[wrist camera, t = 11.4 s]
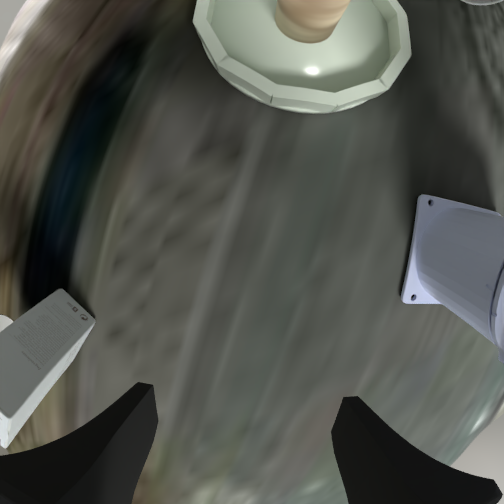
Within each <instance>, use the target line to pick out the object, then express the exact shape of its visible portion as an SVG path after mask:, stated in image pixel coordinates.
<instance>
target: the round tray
mask: <svg viewBox="0 0 504 504" xmlns="http://www.w3.org/2000/svg"><path fill="white" fill-rule="evenodd" d="M276 6H277V0H197V3H196V8H195V13H194V17H193V24H194V26H195V29H196V31H197V34H198V36H199V38H200V40H201V41H202V45H203V47H204V50H205V52H206V54H207V56H208V59H209V60H210V62H211V63H212V65H213V66H214V68H215V69H216V70H217V72H218V73H219V74H220V75H221V76H222V77H223V78H224V79H225V80H226V81H227V82H228V83H229V84H231V85H232V86H233V87H234V88H236V89H237V90H239V91H240V92H242V93H243V94H245V95H246V96H248V97H250V98H252V99H254V100H256V101H258V102H260V103H263V104H265V105H268V106H270V107H274V108H277V109H281V110H284V111H290V112H295V113H304V114H328V113H334V112H340V111H344V110H348V109H351V108H353V107H356V106H358V105H360V104H363V103H364V102H366V101H367V100H369V99H372V98H375V97H377V96H379V95H381V94H382V93H384V92H385V91H387V90H388V89H389V88H390V87H391V85H392V84H393V82H394V81H395V79H396V78H397V76H398V75H399V73H400V72H401V70H402V69H403V67H404V66H405V64H406V63H407V61H408V60H409V58H410V57H411V55H412V54H411V44H410V35H409V27H408V20H407V15H406V13H405V11H404V10H403V8H402V7H401V6H400V4H399V3H398V1H397V0H351V1H350V3H349V5H348V6H347V8H346V10H345V12H344V13H343V15H342V17H341V19H340V20H339V22H338V24H337V25H336V27H335V29H334V31H333V33H332V34H331V36H330V37H329V38H328V39H326V40H324V41H322V42H319V43H312V44H308V43H301V42H297V41H294V40H292V39H290V38H288V37H287V36H285V35H284V34H283V33H282V32H281V31H280V30H279V28H278V27H277V25H276V22H275V13H276Z"/></svg>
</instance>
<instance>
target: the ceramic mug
mask: <svg viewBox="0 0 504 504" xmlns="http://www.w3.org/2000/svg"><path fill="white" fill-rule="evenodd" d="M461 1H463V2H465V3H468V4H473V5H490V4H495V3H498V2H501V1H503V0H461Z"/></svg>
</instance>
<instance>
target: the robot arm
mask: <svg viewBox="0 0 504 504" xmlns="http://www.w3.org/2000/svg"><path fill="white" fill-rule="evenodd" d="M429 200H430V201H431V204H430V205H428V201H429ZM413 294H414V297H413V298H412V299H411V296H412V295H413ZM401 300H402V301H403V302H404V303H407V304H443V305H444V306H445V307H447V308H448V309H450V310H451V311H452V312H454V313H455V314H456V315H458V316H459V317H460V318H462V319H463V320H464V321H466V322H467V323H468V324H470V325H471V326H472V327H473V328H475V329H476V330H477V331H479V332H480V333H481V334H482V335H484V336H485V337H486V338H488V339H489V340H490V341H491V342H493V343H494V344H495V345H496V346H497V347H498V349H499V356H498V359H499V360H500V361H501V362H502V363H503V364H504V217H503V216H501V215H500V213H498V212H495V211H491V210H487V209H484V208H480V207H476V206H472V205H468V204H464V203H460V202H456V201H452V200H448V199H444V198H439V197H435V196H430V195H425V194H422V195H420V196H419V197H418V201H417V209H416V217H415V224H414V231H413V237H412V243H411V249H410V255H409V260H408V265H407V270H406V275H405V280H404V284H403V289H402V293H401ZM157 424H158V415H157V409H156V402H155V395H154V387H153V385H151V384H146V383H140V382H138V383H136V384H135V385H134V386H133V387H132V388H130V389H129V390H128V391H127V392H126V393H125V394H124V395H122V396H121V397H120V398H119V399H118V400H117V401H115V402H114V403H113V404H112V405H111V406H109V407H108V408H107V409H106V410H104V411H103V412H102V413H100V414H99V415H98V416H96V417H95V418H93V419H92V420H91V421H89V422H88V423H86V424H85V425H83V426H82V427H80V428H78V429H77V430H75V431H73V432H71V433H70V434H68V435H66V436H64V437H62V438H60V439H57V440H55V441H53V442H50V443H48V444H46V445H43V446H40V447H37V448H34V449H31V450H27V451H24V452H19V453H15V454H9V455H3V456H0V504H131V503H132V499H133V495H134V491H135V488H136V485H137V482H138V479H139V477H140V474H141V472H142V469H143V467H144V464H145V462H146V459H147V457H148V454H149V452H150V449H151V446H152V444H153V441H154V437H155V433H156V429H157ZM331 434H332V442H333V448H334V454H335V457H336V460H337V464H338V467H339V471H340V474H341V477H342V480H343V484H344V487H345V490H346V494H347V498H348V502H349V504H497V503H498V502H499V500H500V499H501V497H502V495H503V494H502V492H501V491H500V489H499V487H498V486H497V484H496V483H495V481H494V480H492V479H487V478H483V477H479V476H474V475H471V474H468V473H465V472H462V471H459V470H456V469H454V468H451V467H449V466H447V465H445V464H443V463H441V462H439V461H437V460H435V459H433V458H431V457H430V456H428V455H426V454H425V453H423V452H422V451H420V450H419V449H417V448H416V447H414V446H413V445H411V444H410V443H409V442H407V441H406V440H405V439H404V438H402V437H401V436H400V435H399V434H397V433H396V432H395V431H394V430H393V429H392V428H391V427H389V426H388V425H387V424H386V423H385V422H384V421H383V420H382V419H381V418H380V417H379V416H378V415H377V414H376V413H375V412H374V411H373V410H372V409H371V408H369V407H368V406H367V405H366V404H365V403H364V402H363V401H362V400H361V399H360V398H359V397H358V396H354V397H343V400H342V403H341V406H340V409H339V412H338V414H337V417H336V420H335V423H334V425H333V428H332V430H331Z"/></svg>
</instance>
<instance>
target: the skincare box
mask: <svg viewBox="0 0 504 504" xmlns="http://www.w3.org/2000/svg"><path fill="white" fill-rule="evenodd" d="M95 322H96V321H95V319H94V318H93V317H92V316H91V315H90V314H89V313H88V312H87V311H86V310H85V309H84V308H83V307H81V306H80V305H79V304H78V303H77V302H76V301H75V300H74V299H73V298H72V297H71V296H70V295H69V294H68V293H67V292H66V291H65V290H63V289H58V290H57V291H55V292H54V293H52V294H51V295H49V296H48V297H47V298H45V299H44V300H42V301H41V302H40V303H38V304H37V305H36V306H34V307H33V308H32V309H30V310H29V311H28V312H26V313H25V314H23V315H22V316H21V317H19V318H18V319H17V320H15V321H14V322H13V323H11V324H10V325H9V326H7V327H6V328H5V329H4V330H2V331H1V332H0V445H1V446H2V447H4V448H7V447H8V445H9V444H10V443H11V441H12V440H13V439H14V437H15V436H16V434H17V433H18V432H19V430H20V429H21V427H22V426H23V425H24V423H25V422H26V421H27V419H28V418H29V416H30V415H31V414H32V412H33V411H34V410H35V408H36V407H37V406H38V404H39V403H40V402H41V400H42V399H43V398H44V396H45V395H46V394H47V392H48V391H49V390H50V389H51V387H52V386H53V385H54V384H55V382H56V381H57V380H58V379H59V377H60V376H61V375H62V374H63V372H64V371H65V370H66V369H67V367H68V366H69V365H70V364H71V362H72V361H73V360H74V358H75V356H76V355H77V353H78V351H79V349H80V348H81V346H82V344H83V343H84V341H85V339H86V337H87V336H88V334H89V332H90V331H91V329H92V328H93V326H94V324H95Z"/></svg>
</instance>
